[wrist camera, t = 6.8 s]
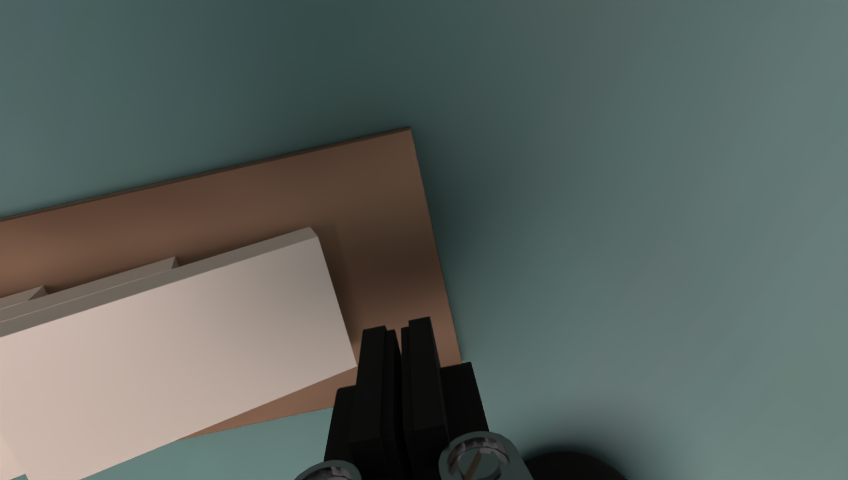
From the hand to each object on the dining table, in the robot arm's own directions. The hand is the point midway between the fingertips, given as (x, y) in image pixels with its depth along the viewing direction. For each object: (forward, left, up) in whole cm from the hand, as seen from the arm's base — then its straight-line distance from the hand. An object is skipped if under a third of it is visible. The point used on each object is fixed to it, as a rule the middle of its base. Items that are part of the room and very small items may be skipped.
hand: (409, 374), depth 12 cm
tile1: (0, -3, -6) cm, 6 cm away
